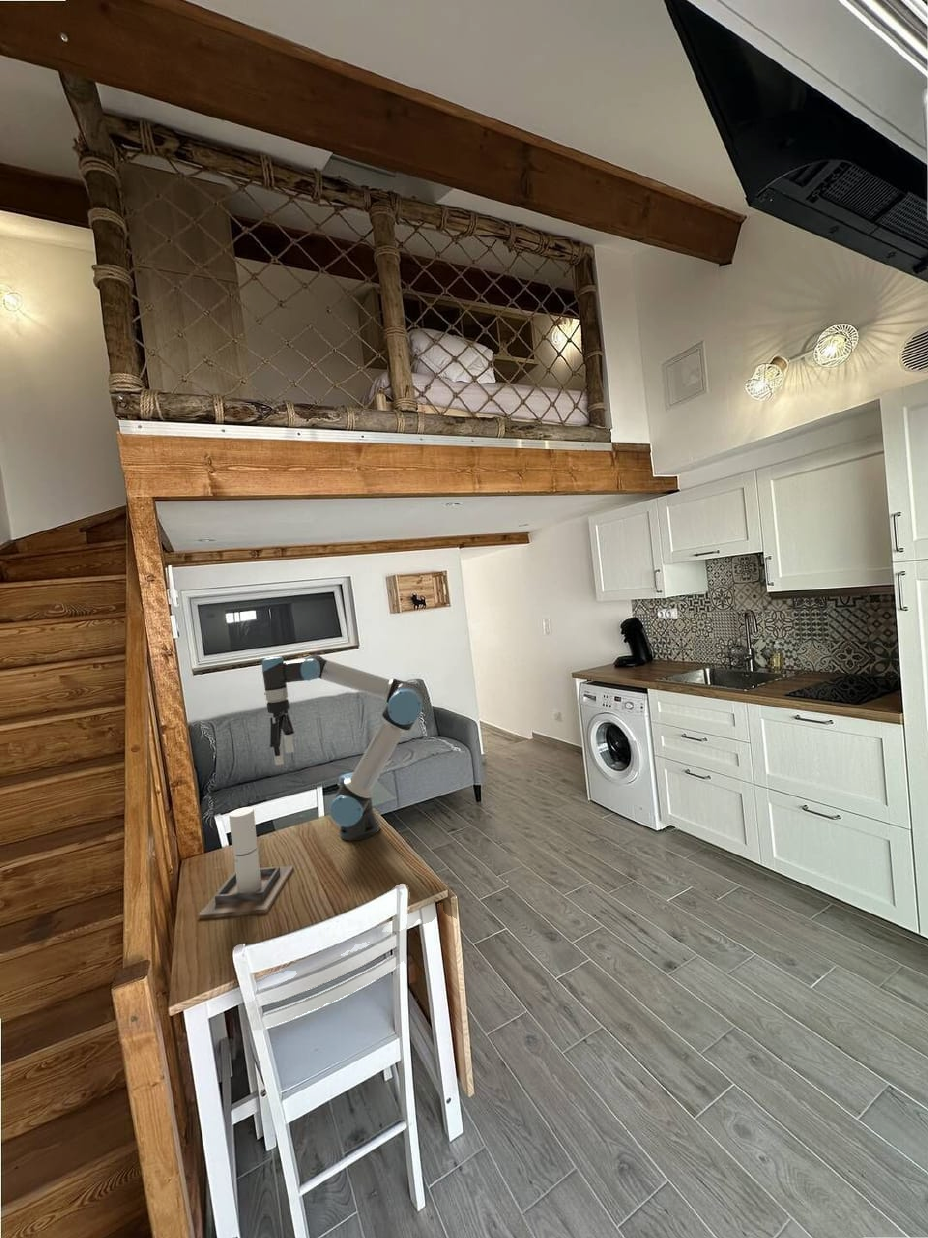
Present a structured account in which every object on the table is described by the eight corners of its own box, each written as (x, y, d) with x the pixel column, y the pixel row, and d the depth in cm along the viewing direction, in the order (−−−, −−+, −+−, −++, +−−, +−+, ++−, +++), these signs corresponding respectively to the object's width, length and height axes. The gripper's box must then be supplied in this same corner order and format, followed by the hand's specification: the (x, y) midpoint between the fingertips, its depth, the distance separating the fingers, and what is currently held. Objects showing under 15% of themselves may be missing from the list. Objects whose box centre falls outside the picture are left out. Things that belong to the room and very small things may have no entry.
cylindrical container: (252, 895, 156) (244, 817, 155) (232, 894, 158) (224, 816, 157) (266, 882, 163) (258, 807, 162) (246, 881, 165) (238, 807, 164)
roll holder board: (293, 869, 172) (292, 858, 172) (266, 913, 149) (265, 901, 148) (235, 874, 172) (234, 863, 172) (199, 919, 148) (197, 906, 148)
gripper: (276, 694, 192) (284, 749, 193) (255, 709, 167) (263, 771, 168) (296, 692, 193) (303, 746, 194) (277, 706, 168) (286, 768, 169)
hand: (285, 758), depth 181 cm, fingers open, 13 cm apart
